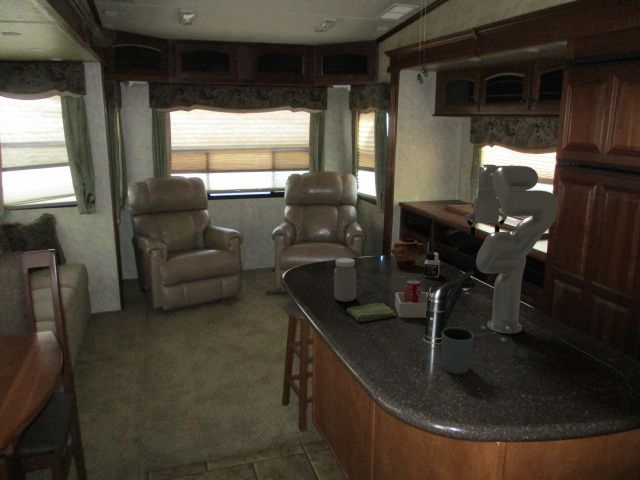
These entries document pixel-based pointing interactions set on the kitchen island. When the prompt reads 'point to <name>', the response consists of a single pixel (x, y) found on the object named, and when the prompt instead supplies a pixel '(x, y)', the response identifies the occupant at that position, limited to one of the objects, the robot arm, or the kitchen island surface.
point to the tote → (410, 306)
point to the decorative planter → (407, 252)
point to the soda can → (412, 291)
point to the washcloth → (370, 312)
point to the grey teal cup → (456, 349)
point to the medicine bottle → (431, 265)
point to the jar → (345, 280)
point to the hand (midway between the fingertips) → (484, 235)
